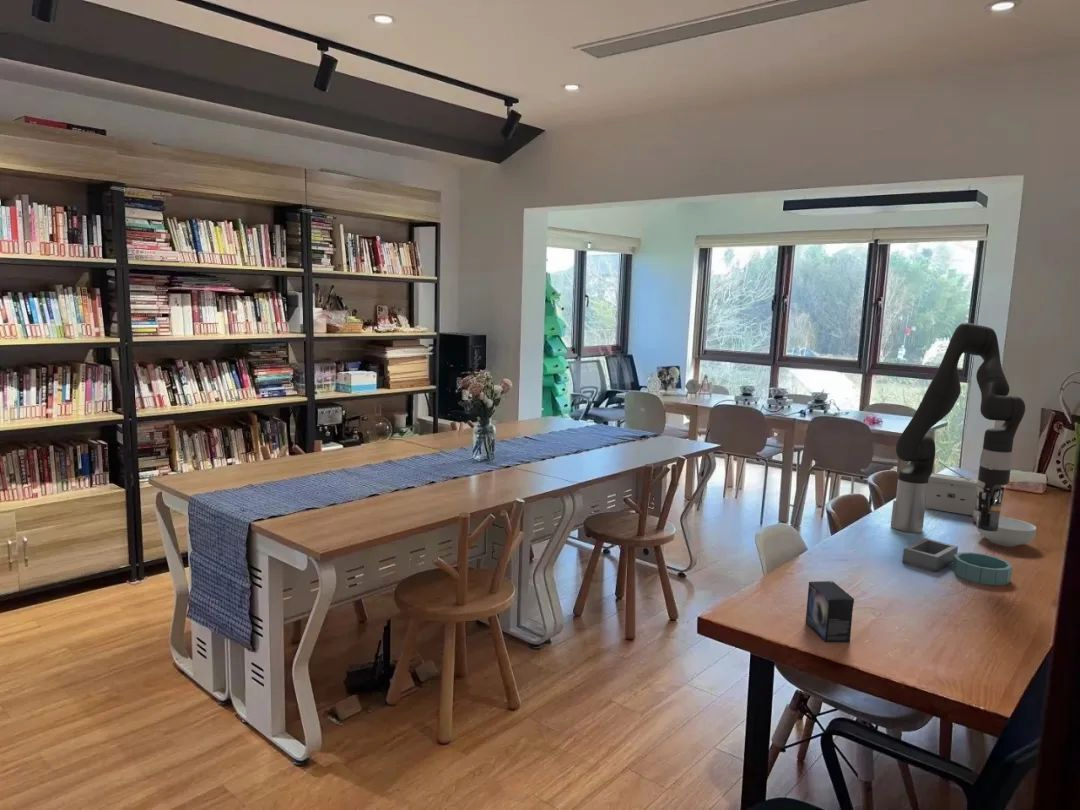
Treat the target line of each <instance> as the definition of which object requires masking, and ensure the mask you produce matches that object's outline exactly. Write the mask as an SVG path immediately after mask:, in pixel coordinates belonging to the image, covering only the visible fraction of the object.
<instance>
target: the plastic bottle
mask: <svg viewBox="0 0 1080 810" xmlns="http://www.w3.org/2000/svg"><path fill="white" fill-rule="evenodd" d="M976 485H977V486H976V488H977V498H976V504H975V510H974V511H973V515H972V520H973V523H977V517H979V511H978V506H979V492H982V489H983V488H984V486H985V483H984V482H981V481H979V480H977V482H976Z"/></svg>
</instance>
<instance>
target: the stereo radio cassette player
mask: <svg viewBox="0 0 1080 810" xmlns="http://www.w3.org/2000/svg"><path fill="white" fill-rule="evenodd" d="M934 462H937V463H938V464H941V465H942V466H943V467H944V468H946V469H948V470H950V471H951V472H952V473H955V474H956V475H958V476H956V475H950V474H942V473H937V472H936V473H934V472H932V473H931V475H930V477H929V480H928V488H927V497H926V505H925V510H927V509H929V510H936V511H941V512H949V513H953V514H960V515H965V516H972V515H973V511H974V510H975V504H976V498H977V488H976V486H977V485H976V482H977V480H978V478H972V477H971V478H970V477H965V476H963V475H962V474H960V473H959V472H957V471H955V470H954V469H952V468H951V467H949V466H947V465H945V464H943V463H942V462H940V461H939V460H936V459H935V458H934ZM972 517H973V516H972Z"/></svg>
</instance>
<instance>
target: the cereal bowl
mask: <svg viewBox="0 0 1080 810" xmlns="http://www.w3.org/2000/svg"><path fill="white" fill-rule="evenodd" d="M978 518H979V517H977V523H976V522H975V523H976V529H977V531H978V532H979V534H980V535H982V537H985V538H986V539H988V540H989V542H990V543H992V544H995V545H999V546H1003V547H1017V546H1019V545H1025V544H1029V543H1030V542H1032V541H1033V540H1034V539H1035V537H1036V533H1037V526H1035V525H1033V524H1032V523H1030V522H1028V521H1024V520H1020V519H1018V518H1017V519H1016V518H1012V517H1006V516H1000V517H999V525H998V531H986V530H982V529H979V528H978V527H977V526H978Z"/></svg>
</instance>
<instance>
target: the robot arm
mask: <svg viewBox="0 0 1080 810" xmlns="http://www.w3.org/2000/svg"><path fill="white" fill-rule="evenodd" d="M963 354H968V355H973V356H980V358H981V359H982V361H983V362H982V363H981V364H980V366H979V367H978V369H977V371H976V378H975V379H976V382H977V385H978V387H979V390H980V393H981V394H980V395H981V399H980V400H981V402H980V407H979V408H980V410H979V411H980V414H981V415H982V417H983V418H984V419H986V420H989V421H997V422H998V421H999V422H1000V421H1001V422H1003V424H1002V425H1000V426H998V427H993V428H988V429H986V430H985V431H984V436H983V444H982V450H981V454H980V459H979V465H978V466H979V467H978V468H979V469H978V476H977V479H978V480H979V481H981V482H984V483H985V486H984V488H983V489H982V492H979V506H978V511H980V512H981V519H980V525H981V526H985V527H988V526H989V524H990V516H991V511H992V507H993V506H995V503H998V504H1001V505H1002V502H1003V497H1004V492H1005V486H1006V485H1009V483H1010V476H1011V471H1012V463H1013V462H1012V460H1013V456H1012V455H1013V446H1014V439H1015V436H1016V433H1017V430H1018V428H1019V426H1020V424H1021V422H1022V420H1023V418H1024V417H1025V416H1024V415H1025V413H1026V405H1025V404H1026V403H1025V401H1024V400H1023V399H1022V397H1020V396H1014V395H1009V393H1010V385H1009V383H1008V381H1007V377H1006V376H1005V374H1004V373H1005V372H1004V371H1003V368H1002V362H1001V354H1000V347H999V341H998V337H997V333H996V332H995V330H994V329H993V328H992V327H989V326H985V325H980V324H975V323H972V322H971V323H970V322H961V323H960V324H958V326H957V327H956V328H955V330H954V332H953V334H952V335H951V337H950V340H949V343H948V345H947V347H946V351H945V353H944V355H943V357H942V360H941V362H940V364H939V367H938V368H937V370H936V372H935V374H934V377H933V378H932V380H931V382H930V384H929V385H928V387H927V389H926V391H925V392H924V395H923V398H922V400H921V401H920V403H919V405H918V407H917V409H916V410H915V413H914V414H913V416H912V418H911V420H910V421H909V423H908V424H907V425H906V427H905V428H904V430H903V432H901V434H900V436H899V437H898V440H897V442H896V446H895V452H896V453H895V454H896V455H897V457H898V459H900V460H901V461H904V462H909V464H908V465H907V466H906V467H904V468H902V469H900V470H899V472H898V477H897V487H896V496H895V499H894V500H893V502H892V508H891V509H892V511H891V520H890V527H891V528H893V529H896V530H897V531H900V532H905V533H911V534H912V533H913V534H917V533H922V532H923V531H924V530H923V528H924V520H925V514H926V508H925V505H926V497H927V488H928V480H929V477H930V475H931V473H933V468H934V464H935V463H934V462H935V460H934V459H935V456H936V443H935V440H934V438H933V437H932V436H930V435H929V434H927V433H928V432H929V430H931V429H932V428H933V427H934V426H935V425H936V424H937V423H940V422H941V420H943V419H945V417H946V416H947V415H948V414H950V412H951V411H952V410H953V408H954V406H955V404H956V403H957V401H958V399H959V397H960V396H961V393H962V392H961V391H962V390H961V389H962V387H961V382H960V377H959V370H958V365H959V361H960V359H961V356H962V355H963ZM990 502H991V503H990ZM984 505H986V508H984Z"/></svg>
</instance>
